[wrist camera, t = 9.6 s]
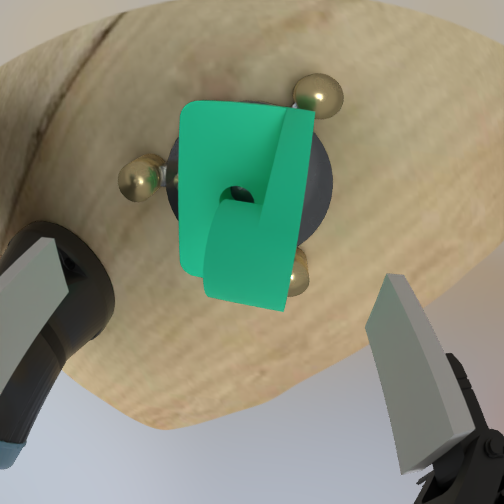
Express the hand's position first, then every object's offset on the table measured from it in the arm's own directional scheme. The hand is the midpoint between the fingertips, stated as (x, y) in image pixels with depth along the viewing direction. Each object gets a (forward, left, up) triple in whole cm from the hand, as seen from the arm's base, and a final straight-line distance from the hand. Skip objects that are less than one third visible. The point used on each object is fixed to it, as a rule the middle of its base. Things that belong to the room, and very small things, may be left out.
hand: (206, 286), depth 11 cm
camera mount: (0, 0, -11) cm, 11 cm away
